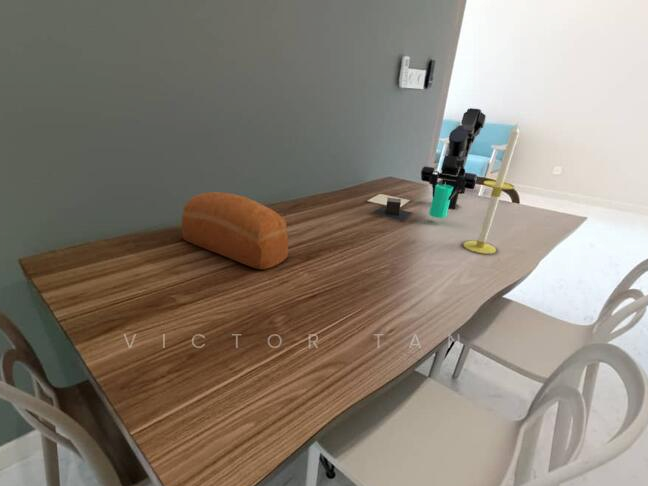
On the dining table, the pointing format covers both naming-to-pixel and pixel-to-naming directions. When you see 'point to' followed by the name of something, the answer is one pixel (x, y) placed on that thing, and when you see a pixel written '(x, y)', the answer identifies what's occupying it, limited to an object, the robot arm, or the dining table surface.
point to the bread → (236, 229)
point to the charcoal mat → (400, 217)
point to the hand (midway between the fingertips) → (440, 198)
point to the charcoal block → (393, 206)
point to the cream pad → (383, 199)
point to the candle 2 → (494, 198)
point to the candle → (440, 201)
